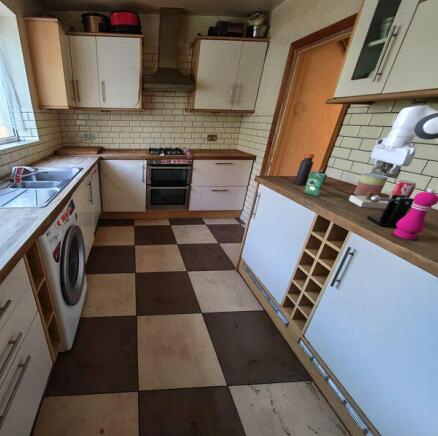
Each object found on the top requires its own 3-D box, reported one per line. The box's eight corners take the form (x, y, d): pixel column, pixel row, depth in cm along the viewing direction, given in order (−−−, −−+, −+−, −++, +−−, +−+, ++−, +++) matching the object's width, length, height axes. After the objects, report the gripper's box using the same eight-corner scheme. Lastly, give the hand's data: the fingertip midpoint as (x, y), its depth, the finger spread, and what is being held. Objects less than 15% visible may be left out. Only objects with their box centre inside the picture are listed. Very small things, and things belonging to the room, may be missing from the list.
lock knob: (375, 199, 122) (378, 192, 120) (377, 200, 120) (380, 193, 119) (364, 198, 122) (368, 191, 121) (367, 199, 121) (370, 192, 119)
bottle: (292, 182, 158) (301, 153, 149) (301, 182, 158) (310, 153, 150) (299, 185, 152) (309, 155, 143) (308, 185, 152) (318, 155, 144)
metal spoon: (372, 203, 98) (375, 196, 96) (366, 200, 100) (370, 193, 99) (406, 205, 96) (410, 198, 94) (399, 203, 99) (403, 196, 97)
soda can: (393, 206, 121) (405, 183, 115) (382, 201, 127) (394, 179, 122) (408, 207, 120) (421, 184, 114) (397, 202, 126) (409, 180, 121)
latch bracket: (381, 226, 98) (396, 199, 93) (366, 218, 106) (379, 192, 101) (412, 229, 97) (429, 201, 91) (395, 220, 105) (410, 194, 99)
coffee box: (319, 196, 133) (327, 174, 127) (316, 196, 132) (324, 174, 126) (305, 192, 140) (313, 170, 134) (302, 192, 138) (310, 171, 133)
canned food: (382, 199, 131) (392, 179, 126) (358, 196, 134) (367, 176, 129) (372, 193, 141) (381, 174, 135) (350, 190, 144) (358, 172, 139)
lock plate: (376, 202, 126) (378, 196, 125) (390, 209, 117) (393, 203, 116) (348, 200, 128) (350, 194, 127) (360, 206, 119) (363, 201, 118)
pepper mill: (386, 231, 95) (412, 185, 86) (404, 232, 94) (431, 185, 86) (403, 240, 88) (433, 191, 79) (422, 241, 88) (454, 192, 79)
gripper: (425, 146, 98) (408, 177, 104) (388, 140, 117) (375, 167, 123) (408, 145, 99) (393, 176, 105) (374, 139, 117) (362, 166, 123)
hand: (383, 171), depth 114 cm, fingers open, 8 cm apart
